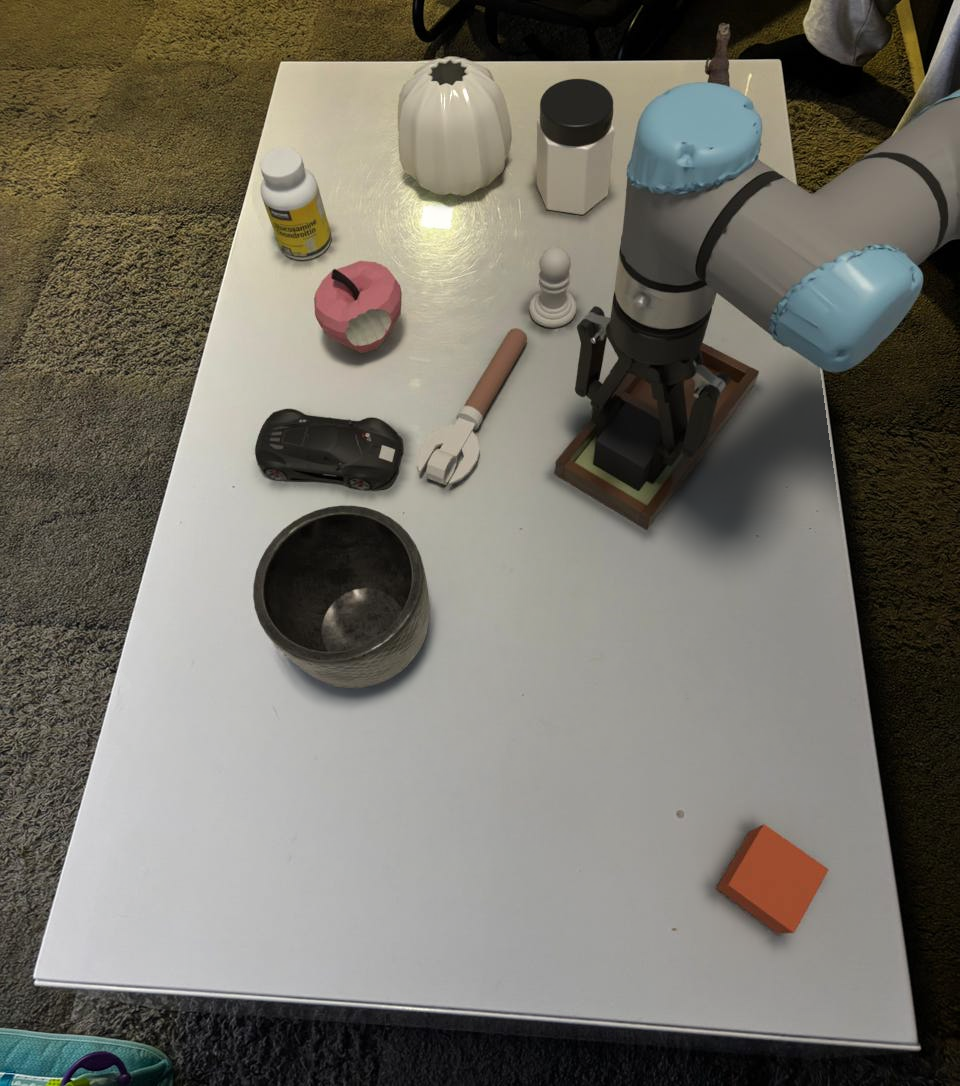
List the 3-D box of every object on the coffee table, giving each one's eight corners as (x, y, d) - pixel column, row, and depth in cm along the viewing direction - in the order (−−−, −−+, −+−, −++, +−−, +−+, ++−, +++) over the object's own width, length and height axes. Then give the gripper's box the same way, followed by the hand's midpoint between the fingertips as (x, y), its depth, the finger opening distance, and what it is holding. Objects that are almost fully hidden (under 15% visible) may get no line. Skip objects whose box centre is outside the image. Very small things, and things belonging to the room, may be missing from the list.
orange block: (811, 873, 66) (829, 869, 62) (777, 933, 65) (794, 933, 60) (750, 830, 68) (763, 823, 64) (716, 888, 66) (727, 884, 62)
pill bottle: (271, 257, 100) (241, 177, 89) (292, 219, 102) (265, 137, 92) (321, 266, 98) (295, 186, 88) (340, 228, 101) (318, 146, 90)
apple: (336, 379, 91) (315, 318, 82) (318, 322, 95) (296, 257, 86) (419, 354, 92) (406, 291, 83) (398, 299, 95) (384, 232, 86)
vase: (445, 227, 100) (433, 129, 88) (383, 166, 105) (363, 66, 93) (534, 175, 103) (535, 74, 91) (469, 119, 108) (461, 16, 96)
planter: (458, 585, 79) (445, 524, 67) (412, 724, 73) (389, 683, 62) (325, 551, 82) (290, 487, 70) (271, 683, 76) (223, 637, 64)
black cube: (668, 453, 83) (675, 428, 79) (638, 491, 82) (644, 468, 77) (622, 427, 85) (626, 401, 81) (592, 464, 83) (595, 440, 79)
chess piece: (585, 315, 93) (590, 255, 85) (546, 336, 92) (547, 278, 84) (558, 286, 95) (561, 225, 87) (520, 306, 94) (518, 246, 86)
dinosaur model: (733, 13, 96) (757, 105, 90) (717, 101, 106) (738, 188, 101) (698, 18, 96) (720, 110, 90) (686, 105, 107) (705, 192, 101)
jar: (615, 208, 100) (625, 119, 89) (550, 223, 99) (553, 135, 88) (592, 159, 104) (599, 68, 93) (530, 173, 103) (530, 84, 92)
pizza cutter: (495, 336, 93) (494, 317, 90) (543, 352, 92) (544, 333, 89) (410, 475, 85) (406, 459, 82) (462, 496, 83) (460, 480, 81)
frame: (753, 386, 87) (759, 371, 85) (647, 530, 81) (650, 517, 78) (664, 340, 91) (667, 324, 88) (554, 474, 84) (555, 461, 82)
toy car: (394, 494, 84) (387, 472, 80) (254, 478, 86) (241, 456, 82) (408, 433, 87) (402, 409, 83) (273, 419, 89) (261, 395, 85)
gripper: (535, 275, 64) (534, 438, 85) (747, 386, 58) (690, 531, 79) (589, 216, 66) (575, 389, 87) (798, 317, 60) (730, 476, 81)
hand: (630, 457), depth 83 cm, fingers closed on black cube, 5 cm apart
